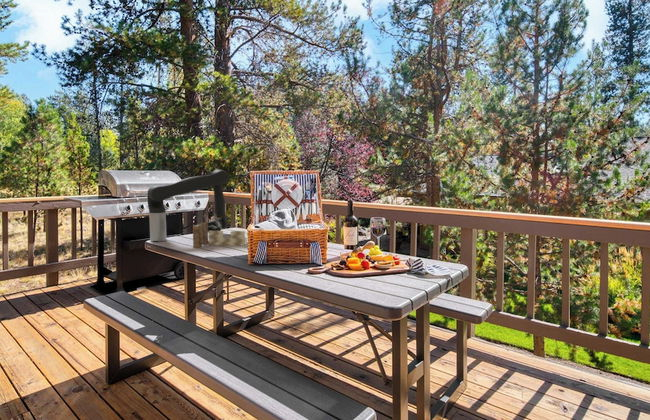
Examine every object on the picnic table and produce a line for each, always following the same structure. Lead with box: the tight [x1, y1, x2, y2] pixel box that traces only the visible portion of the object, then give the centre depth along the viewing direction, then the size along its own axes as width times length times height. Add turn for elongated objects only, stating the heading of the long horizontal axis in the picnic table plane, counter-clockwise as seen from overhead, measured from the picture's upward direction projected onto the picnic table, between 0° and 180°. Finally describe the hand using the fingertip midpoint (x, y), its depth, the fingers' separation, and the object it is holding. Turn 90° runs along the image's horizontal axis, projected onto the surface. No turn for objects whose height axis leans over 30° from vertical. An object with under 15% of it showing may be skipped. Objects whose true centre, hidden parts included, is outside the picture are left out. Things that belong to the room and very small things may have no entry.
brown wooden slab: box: [192, 221, 209, 249], centre depth 241 cm, size 18×3×12 cm, turn 179°
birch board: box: [208, 230, 246, 246], centre depth 241 cm, size 20×2×8 cm, turn 89°
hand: (205, 230), depth 251 cm, fingers open, 8 cm apart
